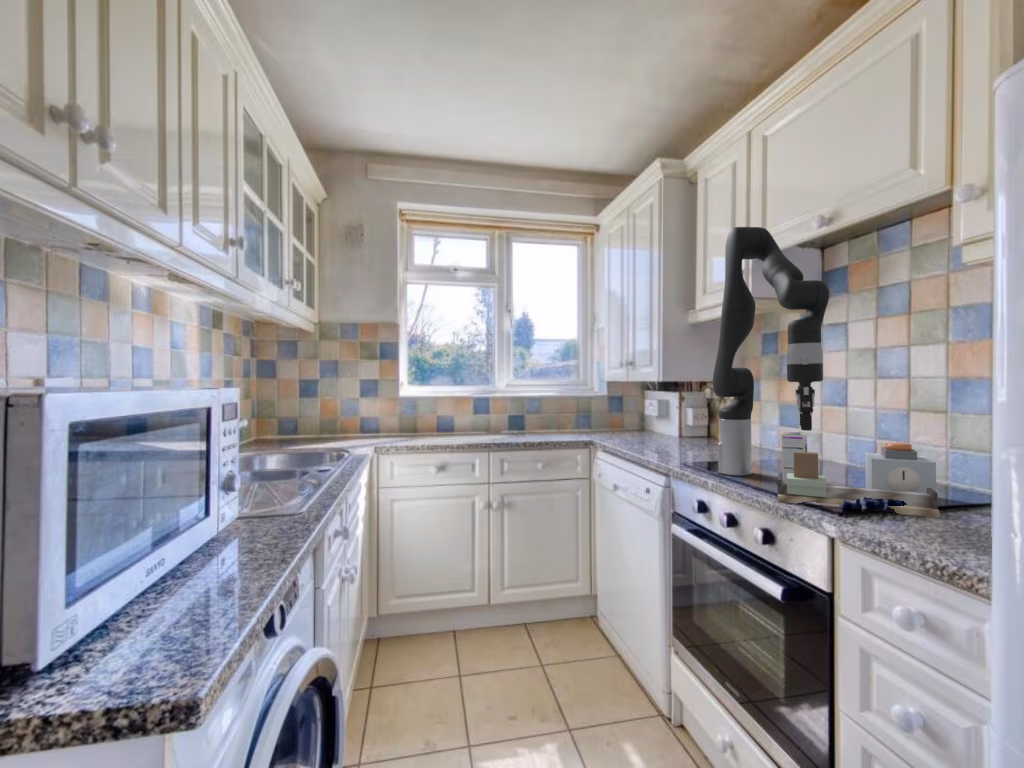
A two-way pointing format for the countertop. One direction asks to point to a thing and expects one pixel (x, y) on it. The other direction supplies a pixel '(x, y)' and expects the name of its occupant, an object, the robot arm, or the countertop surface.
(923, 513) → the rail base
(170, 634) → the countertop surface
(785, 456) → the syrup box
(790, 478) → the brown block on pedestal
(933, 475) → the gauge cabinet
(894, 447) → the button
